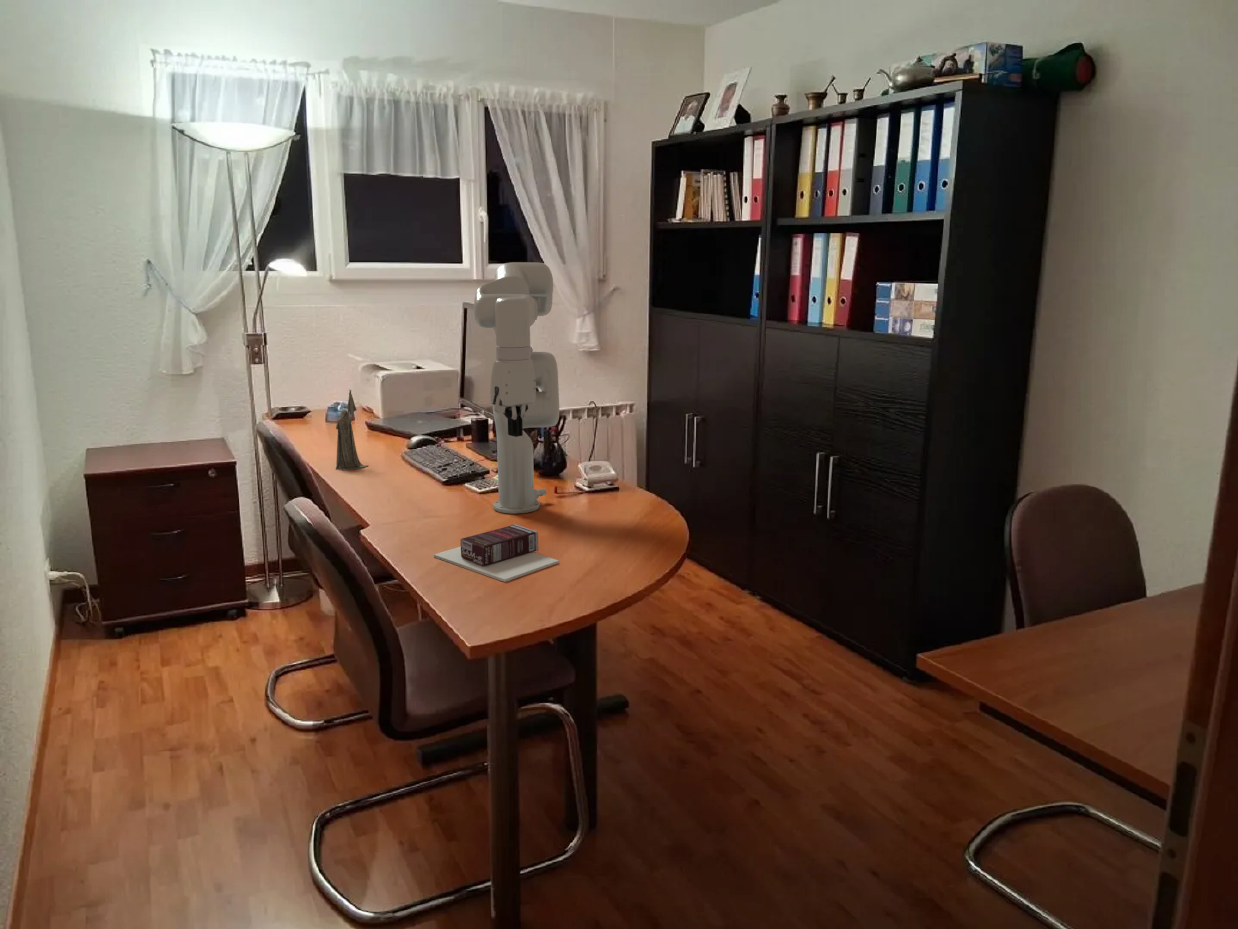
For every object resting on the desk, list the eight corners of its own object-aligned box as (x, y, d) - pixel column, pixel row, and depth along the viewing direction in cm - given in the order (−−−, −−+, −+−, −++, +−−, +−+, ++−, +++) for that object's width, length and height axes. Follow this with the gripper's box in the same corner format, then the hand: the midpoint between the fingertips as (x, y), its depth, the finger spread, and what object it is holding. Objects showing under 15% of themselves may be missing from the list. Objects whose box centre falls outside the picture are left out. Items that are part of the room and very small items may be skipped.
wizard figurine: (361, 462, 295) (355, 387, 290) (371, 467, 289) (365, 389, 283) (330, 466, 289) (324, 389, 284) (339, 471, 283) (333, 392, 277)
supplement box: (515, 543, 212) (460, 558, 201) (515, 523, 211) (459, 537, 200) (539, 551, 206) (483, 567, 195) (539, 531, 205) (482, 546, 194)
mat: (487, 540, 215) (487, 538, 215) (558, 563, 200) (558, 560, 200) (433, 557, 204) (433, 554, 203) (504, 582, 188) (504, 579, 188)
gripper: (527, 349, 205) (528, 428, 210) (475, 355, 195) (478, 438, 199) (549, 352, 200) (550, 432, 205) (498, 359, 190) (501, 443, 194)
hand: (515, 435), depth 202 cm, fingers closed
